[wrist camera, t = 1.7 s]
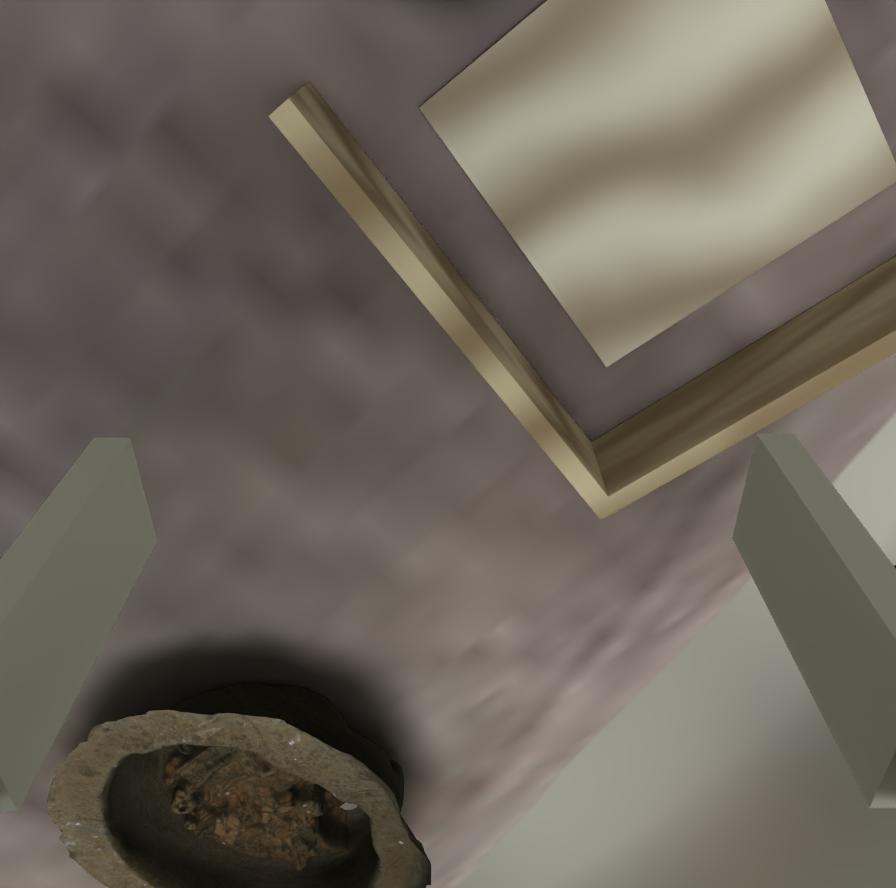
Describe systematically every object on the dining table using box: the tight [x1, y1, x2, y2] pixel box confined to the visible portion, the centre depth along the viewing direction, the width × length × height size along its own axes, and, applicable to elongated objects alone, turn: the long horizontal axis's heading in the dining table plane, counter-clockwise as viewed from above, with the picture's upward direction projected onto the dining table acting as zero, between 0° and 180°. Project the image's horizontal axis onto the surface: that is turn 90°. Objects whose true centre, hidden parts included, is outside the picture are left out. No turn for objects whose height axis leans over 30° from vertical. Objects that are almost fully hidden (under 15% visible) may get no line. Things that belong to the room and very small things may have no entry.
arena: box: [269, 0, 896, 520], centre depth 32 cm, size 23×20×5 cm
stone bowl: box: [47, 682, 431, 888], centre depth 51 cm, size 25×25×9 cm
